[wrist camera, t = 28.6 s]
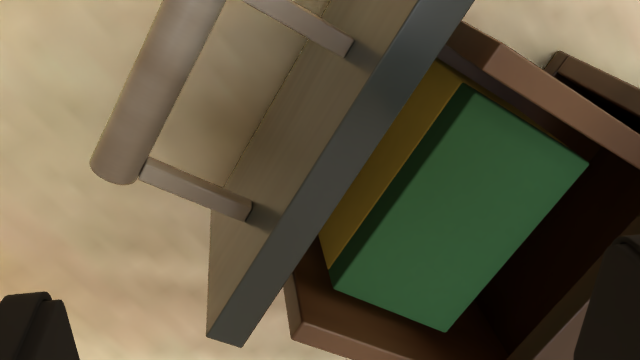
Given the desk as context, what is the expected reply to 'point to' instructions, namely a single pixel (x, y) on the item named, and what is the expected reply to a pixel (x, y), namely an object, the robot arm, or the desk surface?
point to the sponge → (444, 200)
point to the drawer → (347, 161)
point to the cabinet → (568, 314)
